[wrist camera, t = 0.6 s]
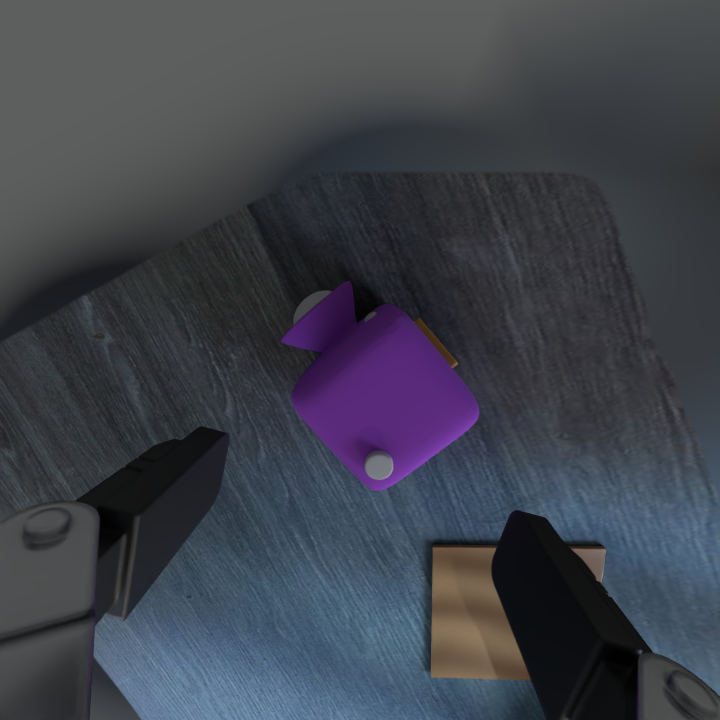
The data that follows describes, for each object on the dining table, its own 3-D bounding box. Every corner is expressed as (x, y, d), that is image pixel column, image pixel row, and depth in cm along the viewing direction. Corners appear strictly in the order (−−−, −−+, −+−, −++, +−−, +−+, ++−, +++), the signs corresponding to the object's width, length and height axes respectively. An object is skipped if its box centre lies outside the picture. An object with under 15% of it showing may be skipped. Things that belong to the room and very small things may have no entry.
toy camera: (344, 257, 28) (327, 243, 18) (471, 360, 29) (518, 398, 20) (269, 358, 30) (218, 394, 20) (391, 450, 31) (396, 525, 22)
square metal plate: (432, 544, 33) (433, 547, 33) (603, 545, 32) (606, 548, 32) (430, 673, 37) (430, 677, 36) (585, 677, 36) (587, 682, 36)
